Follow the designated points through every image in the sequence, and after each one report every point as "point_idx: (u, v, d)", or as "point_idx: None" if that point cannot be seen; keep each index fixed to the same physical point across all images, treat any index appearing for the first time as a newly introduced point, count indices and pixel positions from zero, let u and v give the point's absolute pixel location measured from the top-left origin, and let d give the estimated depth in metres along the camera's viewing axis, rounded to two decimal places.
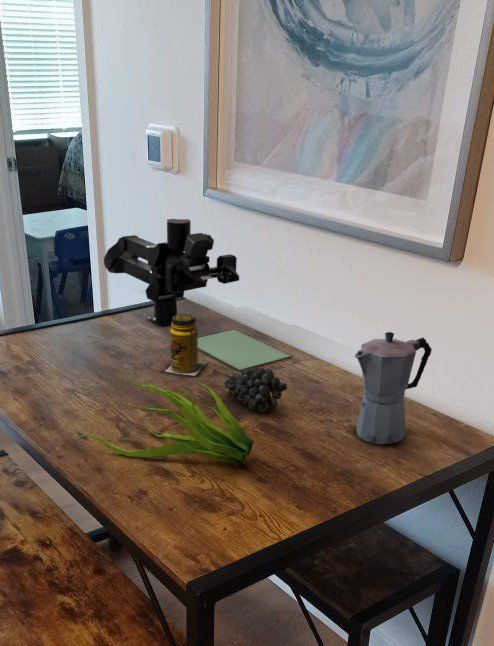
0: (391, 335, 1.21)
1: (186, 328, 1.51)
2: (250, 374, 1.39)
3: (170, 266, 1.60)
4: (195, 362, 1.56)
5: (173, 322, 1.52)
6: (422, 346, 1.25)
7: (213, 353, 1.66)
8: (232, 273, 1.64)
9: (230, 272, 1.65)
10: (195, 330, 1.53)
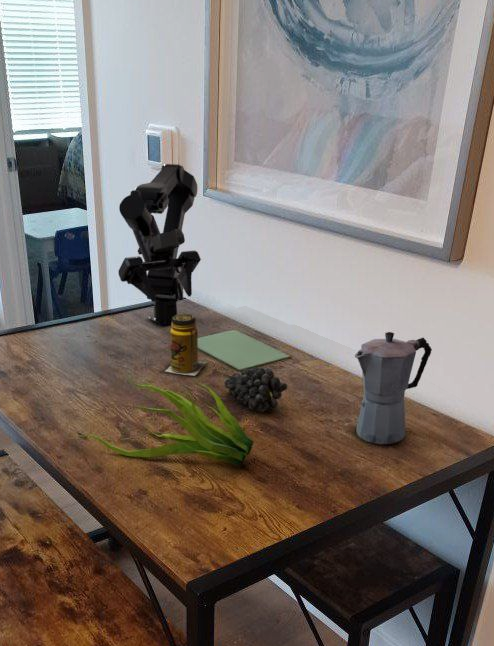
0: (391, 335, 1.21)
1: (186, 328, 1.51)
2: (250, 374, 1.39)
3: (128, 264, 1.53)
4: (195, 362, 1.56)
5: (173, 322, 1.52)
6: (422, 346, 1.25)
7: (213, 353, 1.66)
8: (187, 285, 1.60)
9: (186, 281, 1.60)
10: (195, 330, 1.53)
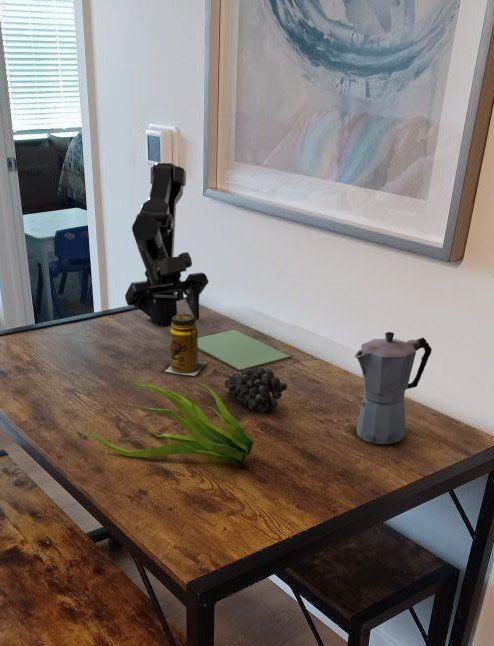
0: (391, 335, 1.21)
1: (186, 328, 1.51)
2: (250, 374, 1.39)
3: (134, 289, 1.51)
4: (195, 362, 1.56)
5: (173, 322, 1.52)
6: (422, 346, 1.25)
7: (213, 353, 1.66)
8: (194, 308, 1.58)
9: (193, 304, 1.58)
10: (195, 330, 1.53)
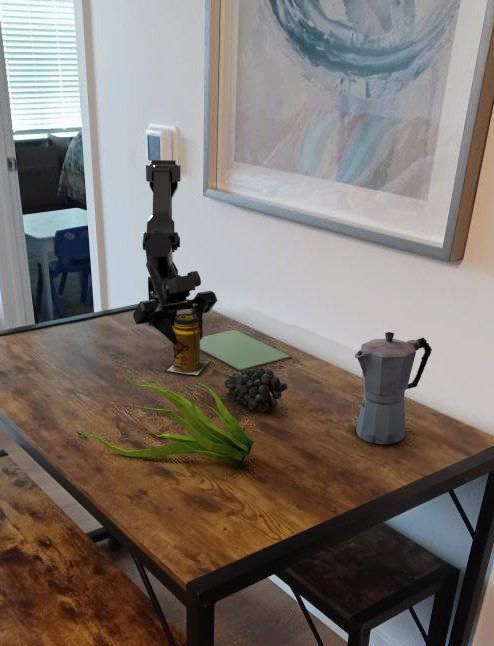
0: (391, 335, 1.21)
1: (189, 328, 1.52)
2: (250, 374, 1.39)
3: (143, 308, 1.50)
4: (197, 361, 1.56)
5: (176, 321, 1.52)
6: (422, 346, 1.25)
7: (213, 353, 1.66)
8: None
9: None
10: (198, 329, 1.53)
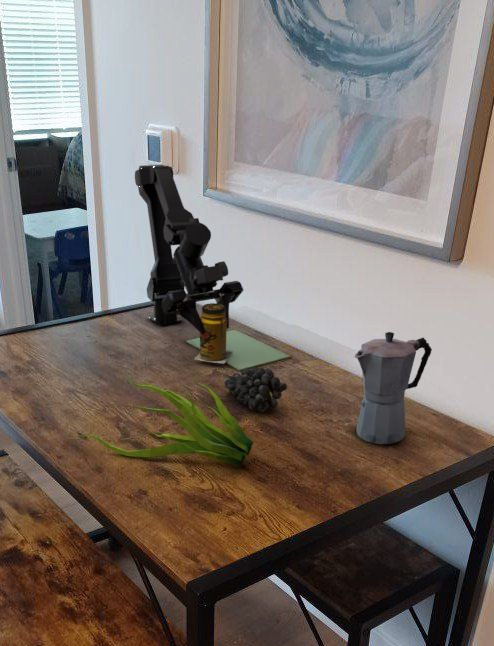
0: (391, 335, 1.21)
1: (216, 317, 1.55)
2: (250, 374, 1.39)
3: (172, 298, 1.53)
4: (224, 350, 1.60)
5: (203, 311, 1.55)
6: (422, 346, 1.25)
7: None
8: None
9: None
10: (225, 319, 1.57)
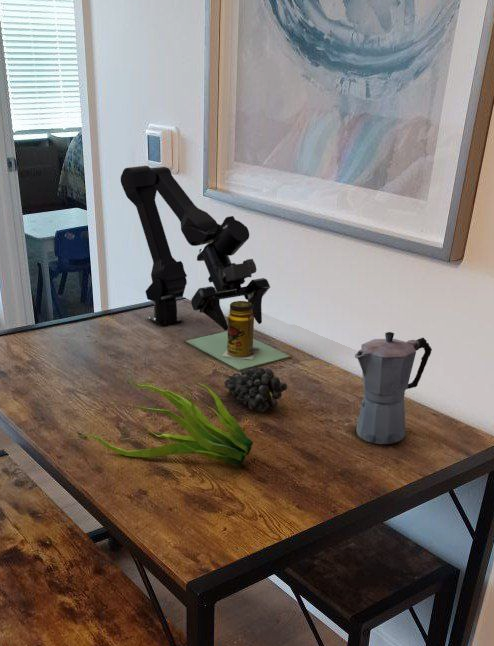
0: (391, 335, 1.21)
1: (244, 314, 1.59)
2: (250, 374, 1.39)
3: (202, 295, 1.57)
4: (251, 347, 1.64)
5: (232, 308, 1.60)
6: (422, 346, 1.25)
7: (213, 353, 1.66)
8: (257, 313, 1.64)
9: (256, 309, 1.64)
10: (252, 316, 1.61)
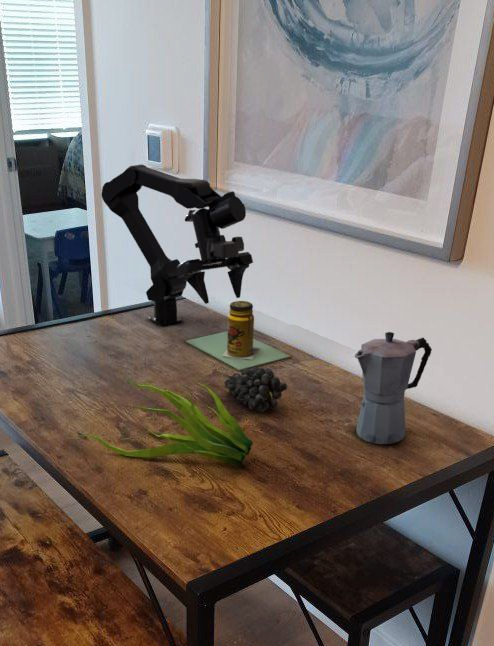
0: (391, 335, 1.21)
1: (244, 314, 1.59)
2: (250, 374, 1.39)
3: (189, 269, 1.61)
4: (251, 346, 1.64)
5: (232, 308, 1.59)
6: (422, 346, 1.25)
7: (213, 353, 1.66)
8: (237, 287, 1.70)
9: (237, 283, 1.70)
10: (252, 316, 1.61)
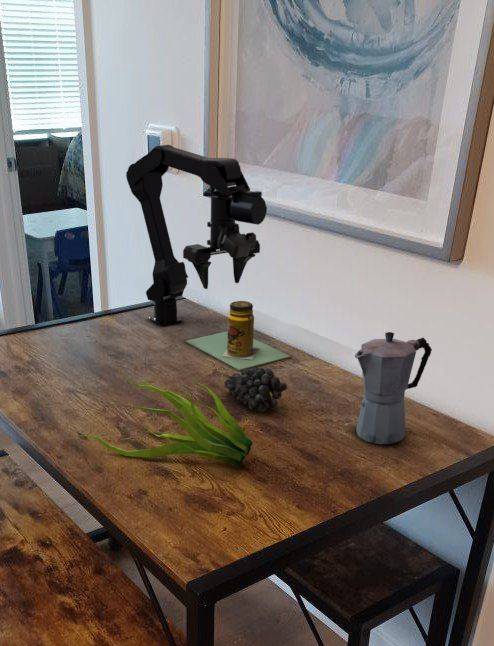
0: (391, 335, 1.21)
1: (244, 314, 1.59)
2: (250, 374, 1.39)
3: (197, 260, 1.60)
4: (251, 347, 1.64)
5: (232, 308, 1.59)
6: (422, 346, 1.25)
7: (213, 353, 1.66)
8: (238, 273, 1.71)
9: (238, 269, 1.70)
10: (252, 316, 1.61)
